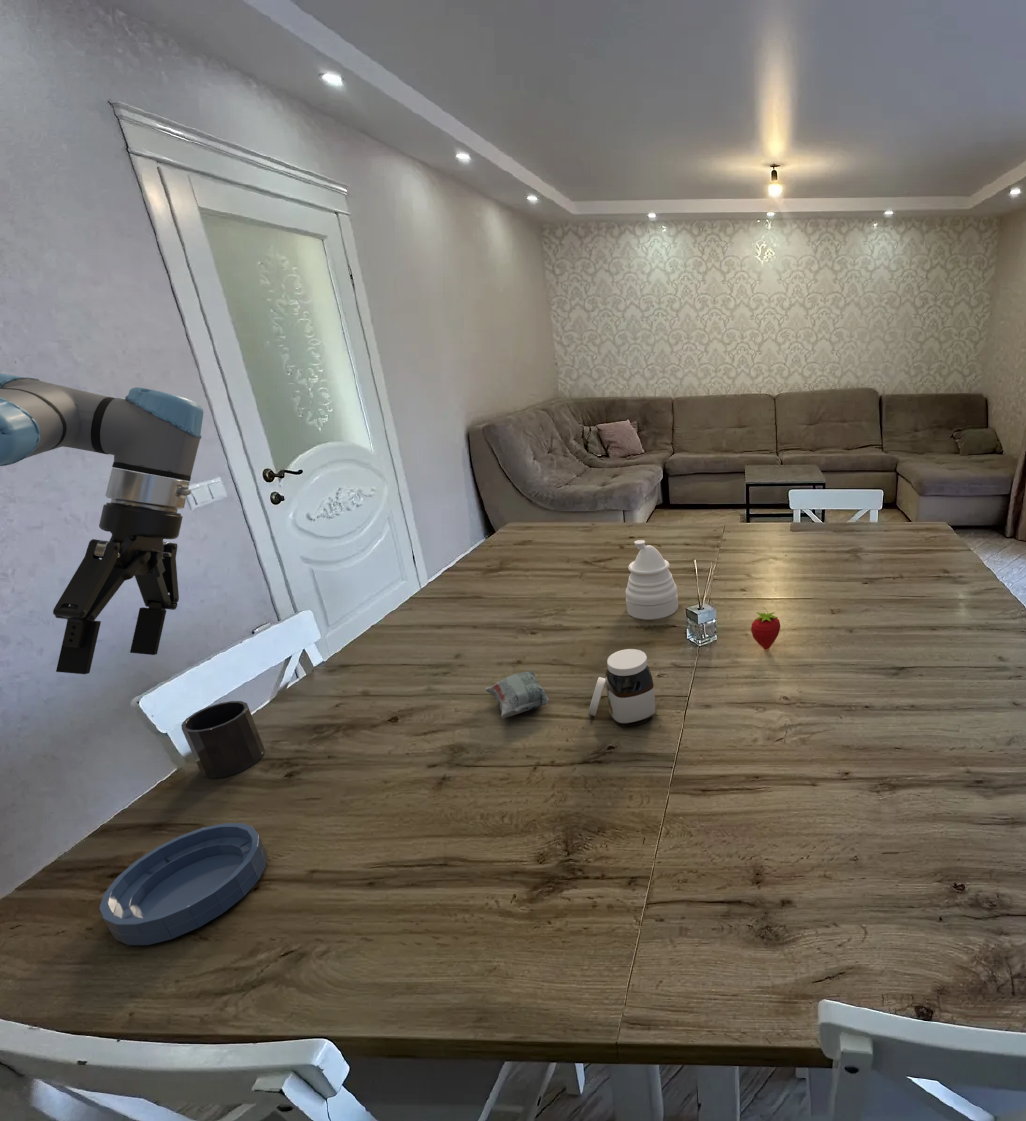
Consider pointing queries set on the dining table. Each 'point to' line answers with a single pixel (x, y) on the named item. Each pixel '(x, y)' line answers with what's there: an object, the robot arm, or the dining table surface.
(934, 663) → the dining table surface
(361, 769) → the dining table surface
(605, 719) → the dining table surface
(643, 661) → the spread jar
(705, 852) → the dining table surface
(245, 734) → the coffee cup
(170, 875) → the plate
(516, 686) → the packaged food
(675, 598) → the honey pot
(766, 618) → the strawberry
